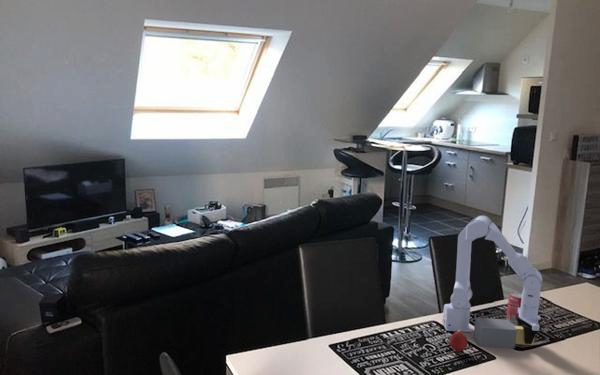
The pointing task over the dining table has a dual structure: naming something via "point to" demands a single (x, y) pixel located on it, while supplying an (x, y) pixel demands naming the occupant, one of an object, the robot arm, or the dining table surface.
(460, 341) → the onion
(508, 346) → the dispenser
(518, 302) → the beverage can
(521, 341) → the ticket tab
